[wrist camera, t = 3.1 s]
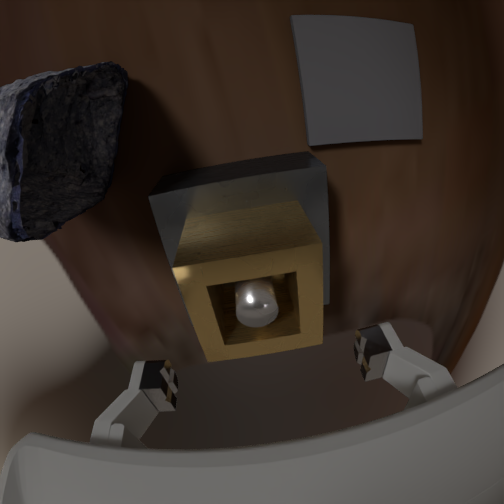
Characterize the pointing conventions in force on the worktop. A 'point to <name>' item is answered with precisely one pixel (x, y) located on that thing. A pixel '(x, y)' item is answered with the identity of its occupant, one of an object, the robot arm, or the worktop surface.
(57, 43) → the worktop surface
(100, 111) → the stone
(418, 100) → the mat
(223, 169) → the post block
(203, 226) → the ring
